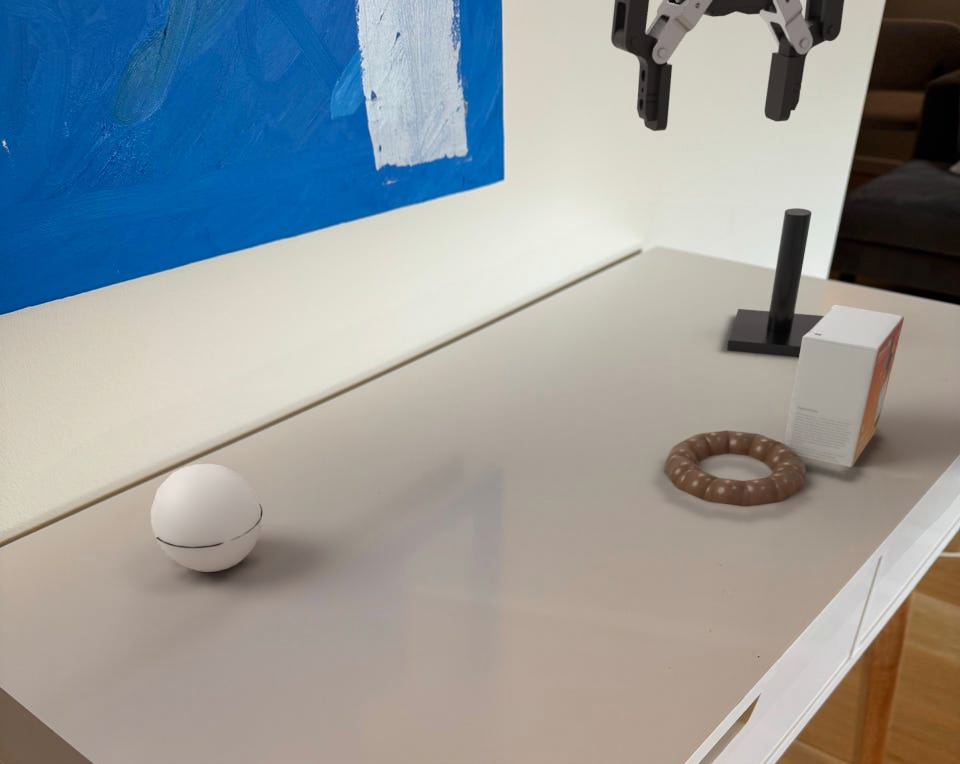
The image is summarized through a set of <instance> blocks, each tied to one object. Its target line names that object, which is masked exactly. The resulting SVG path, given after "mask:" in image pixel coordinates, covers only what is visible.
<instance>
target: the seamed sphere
mask: <svg viewBox="0 0 960 764" xmlns="http://www.w3.org/2000/svg"><path fill="white" fill-rule="evenodd" d="M262 517H263V507H262V505H261V504H260V501H259V500H258V497H257V494H256V493H255V491H254V489H253V488H252V486H251V485H250V484H249V483H248V482H247V481H246V479H245V478H244V477H242V476H241V475H240V474H239V473H236V472H235V471H233V470H232V469H229V468H227V467H226V466H223V465H220V464H216V463H215V464H214V463H196V464H191V465H187V466H185V467H182V468H180V469H177V470H176V471H174V472H172V473H171V474H170V475H169V476H168V477H167V478H166V479H165V480H164V481H163V483H162V484H161V485H160V486H158V488H157V489H156V493H155V495H154V499H153V502H152V505H151V509H150V523H151V529H152V531H153V534H154V536H155V539H156V542H158V545H159V547H160V548H161V550H162V551H163V552H164V553H165V554H166V555H167V556H168V557H170V558H171V559H172V560H173V561H174V562H175V563H176V564H178V565H180V566H183V567H185V568H188V569H191V570H194V571H197V572H203V573H204V572H205V573H211V572H213V573H214V572H220V571H224V570H227V569H230V568H231V567H234V566H236V565H237V564H239V563H240V562H242V561H243V560H244V559H245V558H246V557H247V556H248V555H249V554H250V553H251V552H252V551H253V549H254V548H255V546H256V544H257V542H258V539H259V537H260V534H261V532H262V527H289V528H290V527H295V525H294V524H287V525H286V524H285V525H284V524H262Z"/></svg>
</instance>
